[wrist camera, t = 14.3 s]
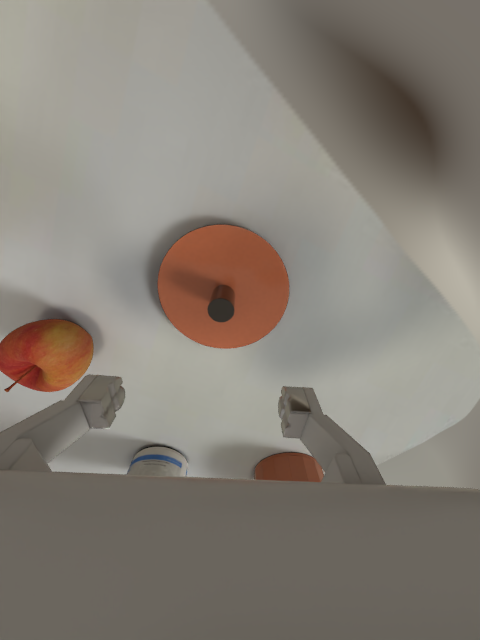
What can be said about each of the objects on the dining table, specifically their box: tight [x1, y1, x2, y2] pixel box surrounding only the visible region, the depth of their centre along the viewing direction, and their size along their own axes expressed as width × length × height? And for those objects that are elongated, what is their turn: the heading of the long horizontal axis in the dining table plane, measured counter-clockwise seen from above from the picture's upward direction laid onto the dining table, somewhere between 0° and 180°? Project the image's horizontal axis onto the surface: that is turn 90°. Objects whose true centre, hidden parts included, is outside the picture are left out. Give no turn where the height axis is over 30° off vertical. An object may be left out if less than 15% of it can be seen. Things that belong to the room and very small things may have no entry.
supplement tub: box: [127, 447, 188, 477], centre depth 32 cm, size 10×10×15 cm
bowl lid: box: [158, 224, 289, 348], centre depth 21 cm, size 13×13×5 cm
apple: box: [0, 319, 93, 392], centre depth 22 cm, size 7×7×8 cm
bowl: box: [254, 453, 324, 482], centre depth 37 cm, size 12×12×8 cm
